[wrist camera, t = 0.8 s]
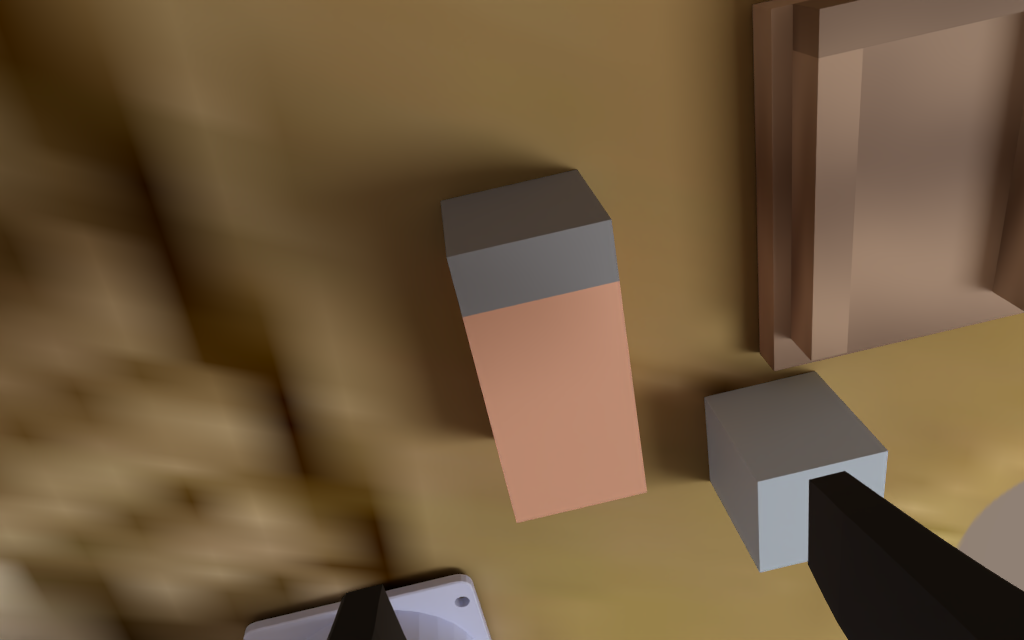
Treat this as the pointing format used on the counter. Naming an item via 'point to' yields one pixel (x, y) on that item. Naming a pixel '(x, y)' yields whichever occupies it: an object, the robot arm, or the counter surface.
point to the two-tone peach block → (548, 340)
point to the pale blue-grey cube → (784, 459)
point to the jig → (886, 171)
